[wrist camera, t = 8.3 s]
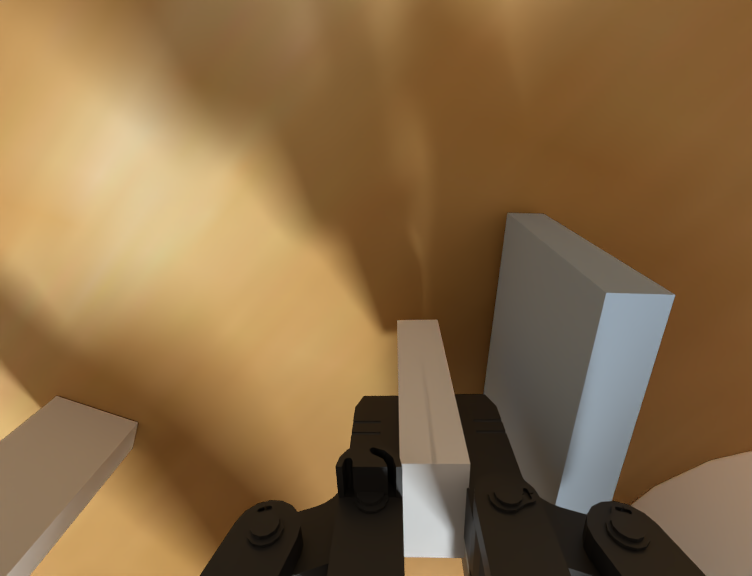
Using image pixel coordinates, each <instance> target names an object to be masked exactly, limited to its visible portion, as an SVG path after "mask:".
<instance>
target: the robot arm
mask: <svg viewBox="0 0 752 576" xmlns="http://www.w3.org/2000/svg"><path fill="white" fill-rule="evenodd" d="M397 340H398V394H399V396H364V397H363V398H362V399H361V401H360V402H359V403H358V405H357V406H356V407H355V413H354V420H353V428H352V435H351V443H350V449H348V450H347V451H346V452H345V453H343V454H342V455H341V456H340V458H339V460H338V462H337V465H336V476H337V487H338V493H337V494H336V495H335V496H334V497H333V498H332V499H330V500H329V501H327V502H326V503H324V504H321V505H319V506H316V507H313V508H310V509H306V510H303V511H300V512H297V511H296V509H295V508H294V507H293V506H292V505H290V504H288V503H286V502H284V501H276V500H269V501H266V502H262V503H259V504H256V505H255V506H253V507H251V508H250V509H248V510H246V511H245V512H244V513H243V514H242V515H241V517H240V518H239V519H238V520H237V521H236V522H235V524H234V525H233V527H232V528H231V530H230V531H229V533H228V534H227V536H226V537H225V539H224V540H223V542H222V543H221V545H220V546H219V548H218V549H217V551H216V552H215V554H214V555H213V557H212V558H211V560H210V561H209V563H208V564H207V566H206V567H205V569H204V570H203V572H202V573H201V575H200V576H405V575H404V557H433V558H464V557H465V547H466V552H467V558H468V564H469V575H468V576H706V575H705V574H704V573H703V572H702V571H701V570H700V569H699V568H698V567H697V565H696V564H695V563H694V562H693V561H692V560H691V559H690V558H689V557H688V556H687V555H686V554H685V553H684V552H683V551H682V550H681V548H680V547H679V546H678V545H677V544H676V543H675V542H674V541H673V540H672V539H671V538H670V537H669V536H668V535H667V534H666V533H665V531H664V530H663V529H662V528H661V527H660V526H659V525H658V524H657V523H656V522H654V521H653V520H652V519H651V518H650V517H649V516H647V515H646V514H645V513H643V512H642V511H640V510H638V509H636V508H634V507H632V506H630V505H627V504H623V503H619V502H615V501H604V502H599V503H597V504H595V505H593V506H591V508H590V510H589V512H588V513H587V514H583V513H580V512H576V511H573V510H569V509H565V508H562V507H559V506H556V505H554V504H551V503H549V502H547V501H546V500H544V499H542V498H540V497H539V495H538V493H537V492H536V490H535V489H534V488H533V487H532V486H531V485H530V484H529V483H527V482H526V481H525V480H524V479H523V477H522V474H521V471H520V469H519V466H518V463H517V461H516V458H515V455H514V452H513V450H512V447H511V444H510V441H509V439H508V436H507V433H506V432H505V428H504V425H503V422H502V421H501V417H500V414H499V412H498V409H497V406H496V405H495V404H494V403H493V402H492V401H491V400H490V399H489V398H488V397H487V396H486V395H485V394H454V390H453V385H452V381H451V377H450V372H449V368H448V363H447V359H446V355H445V350H444V346H443V341H442V337H441V333H440V328H439V324H438V320H397Z"/></svg>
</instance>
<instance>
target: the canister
mask: <svg viewBox="0 0 752 576" xmlns="http://www.w3.org/2000/svg"><path fill="white" fill-rule="evenodd" d="M630 506H632V507H634V508H636V509H638V510H640V511H642V512H643V513H645V514H646V515H647V516H649V517H650V518H651V519H652V520H653V521H654V522H656V523H657V524H658V525H659V526H660V527H661V528H662V529H663V530H664V531H665V533H666V534H667V535H668V536H669V537H670V538H671V539H672V540H673V541H674V542H675V543H676V544H677V545H678V546H679V547H680V548H681V550H682V551H683V552H684V553H685V554H686V555H687V556H688V557H689V558H690V559H691V560H692V561H693V562H694V563H695V564H696V565H697V567H698V568H699V569H700V570H701V571H702V572H703V573H704V574H705V575H706V576H752V451H748V452H744V453H740V454H735V455H731V456H727V457H722V458H718V459H714V460H710V461H707V462H705V463H703V464H701V465H699V466H697V467H695V468H693V469H690V470H688V471H686V472H684V473H682V474H680V475H678V476H675V477H673V478H671V479H669V480H667V481H665V482H663V483H660V484H658V485H656V486H654V487H653V488H652V489H650V490H649V491H648V492H647V493H645V494H644V495H643V496H642V497H640V498H639V499H638V500H637V501H635V502H634V503H633V504H631V505H630Z"/></svg>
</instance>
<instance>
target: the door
mask: <svg viewBox="0 0 752 576" xmlns="http://www.w3.org/2000/svg"><path fill="white" fill-rule="evenodd" d="M674 298H675V294H673V293H672V292H670V291H668V290H667V289H665V288H664V287H662V286H660V285H659V284H657V283H655V282H654V281H652V280H651V279H649V278H647V277H646V276H644V275H642V274H641V273H639V272H638V271H636V270H634V269H633V268H631V267H629V266H628V265H626V264H625V263H623V262H621V261H620V260H618V259H616V258H615V257H613V256H612V255H610V254H608V253H607V252H605V251H603V250H602V249H600V248H599V247H597V246H595V245H594V244H592V243H590V242H589V241H587V240H586V239H584V238H582V237H581V236H579V235H577V234H576V233H574V232H573V231H571V230H569V229H568V228H566V227H564V226H563V225H561V224H560V223H558V222H556V221H555V220H553V219H551V218H550V217H548V216H547V215H545V214H536V213H507V220H506V228H505V235H504V243H503V250H502V258H501V265H500V273H499V280H498V288H497V296H496V303H495V311H494V318H493V326H492V333H491V341H490V348H489V356H488V364H487V371H486V379H485V386H484V394H485V395H486V396H487V397H488V398H489V399H490V400H491V401H492V402H493V403H494V404H495V405H496V406H497V409H498V412H499V414H500V417H501V421H502V422H503V425H504V428H505V432H506V433H507V436H508V439H509V441H510V444H511V447H512V450H513V452H514V455H515V458H516V461H517V463H518V466H519V469H520V471H521V474H522V477H523V479H524V480H525V481H526V482H527V483H529V484H530V485H531V486H532V487H533V488H534V489H535V490H536V492H537V493H538V495H539V497H540V498H542V499H544V500H546V501H547V502H549V503H551V504H554V505H556V506H559V507H562V508H565V509H569V510H573V511H576V512H580V513H583V514H587V513H588V512H589V510H590V508H591V506H593V505H595V504H597V503H599V502H604V501H612V498H613V495H614V492H615V489H616V485H617V482H618V479H619V476H620V472H621V469H622V466H623V463H624V459H625V456H626V453H627V450H628V447H629V443H630V440H631V437H632V434H633V430H634V427H635V424H636V421H637V417H638V414H639V411H640V408H641V404H642V401H643V398H644V395H645V391H646V388H647V385H648V382H649V379H650V375H651V372H652V369H653V366H654V362H655V359H656V356H657V353H658V349H659V346H660V343H661V340H662V336H663V333H664V330H665V327H666V323H667V320H668V317H669V314H670V311H671V307H672V304H673V301H674ZM462 565H463V571H464V576H468V575H469V564H468V558H467V552H466V547H465V557H464V558H462Z"/></svg>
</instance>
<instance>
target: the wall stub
mask: <svg viewBox="0 0 752 576" xmlns="http://www.w3.org/2000/svg"><path fill="white" fill-rule="evenodd" d="M137 425H138V422H135V421H132V420H129V419H126V418H123V417H120V416H116V415H113V414H110V413H107V412H104V411H101V410H98V409H95V408H92V407H89V406H86V405H83V404H80V403H77V402H74V401H71V400H68V399H65V398H62V397H59V396H56V397H55V398H53V399H52V400H51V401H50V402H48V403H47V404H46V405H45V406H43V407H42V408H41V409H40V410H38V411H37V412H36V413H35V414H33V415H32V416H31V417H30V418H29V419H27V420H26V421H25V422H24V423H22V424H21V425H20V426H19V427H17V428H16V429H15V430H14V431H12V432H11V433H10V434H9V435H7V436H6V437H5V438H4V439H2V440H1V441H0V576H30V575H31V573H32V572H33V571H34V570H35V568H36V567H37V566H38V565H39V563H40V562H41V561H42V560H43V559H44V557H45V556H46V555H47V554H48V552H49V551H50V550H51V549H52V547H53V546H54V545H55V544H56V542H57V541H58V540H59V539H60V537H61V536H62V535H63V534H64V533H65V531H66V530H67V529H68V528H69V526H70V525H71V524H72V523H73V521H74V520H75V519H76V518H77V516H78V515H79V514H80V513H81V512H82V510H83V509H84V508H85V507H86V505H87V504H88V503H89V502H90V500H91V499H92V498H93V497H94V495H95V494H96V493H97V492H98V490H99V489H100V488H101V487H102V486H103V484H104V483H105V482H106V481H107V479H108V478H109V477H110V476H111V474H112V473H113V472H114V471H115V469H116V468H117V467H118V466H119V464H120V463H121V462H122V461H123V460H124V458H125V457H126V456H127V455H128V453H129V452H130V451H131V450H132V448H133V444H134V439H135V434H136V430H137Z"/></svg>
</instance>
